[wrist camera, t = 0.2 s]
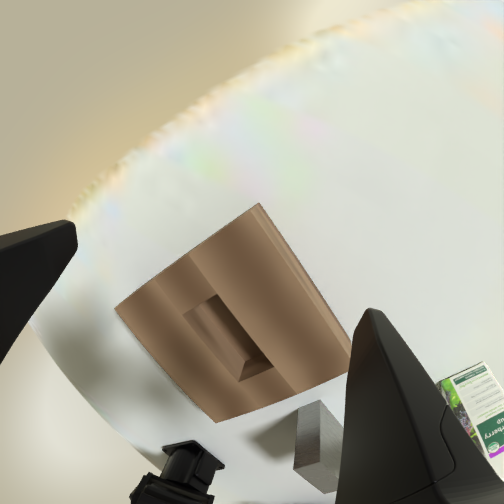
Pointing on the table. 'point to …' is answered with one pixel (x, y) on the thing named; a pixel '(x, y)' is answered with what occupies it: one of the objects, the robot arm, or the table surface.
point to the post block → (239, 321)
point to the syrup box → (479, 410)
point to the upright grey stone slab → (318, 446)
